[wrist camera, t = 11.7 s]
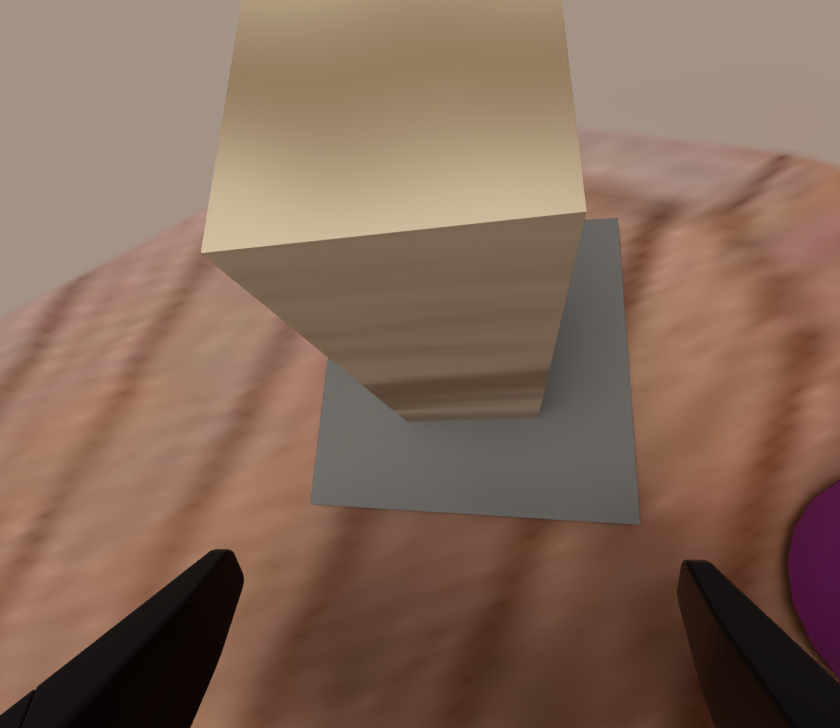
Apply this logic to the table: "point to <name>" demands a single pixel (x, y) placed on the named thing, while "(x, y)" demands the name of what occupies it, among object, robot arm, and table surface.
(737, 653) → the robot arm
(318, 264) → the birch block
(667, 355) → the table surface
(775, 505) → the table surface
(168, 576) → the table surface
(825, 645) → the beverage can
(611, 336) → the charcoal board
